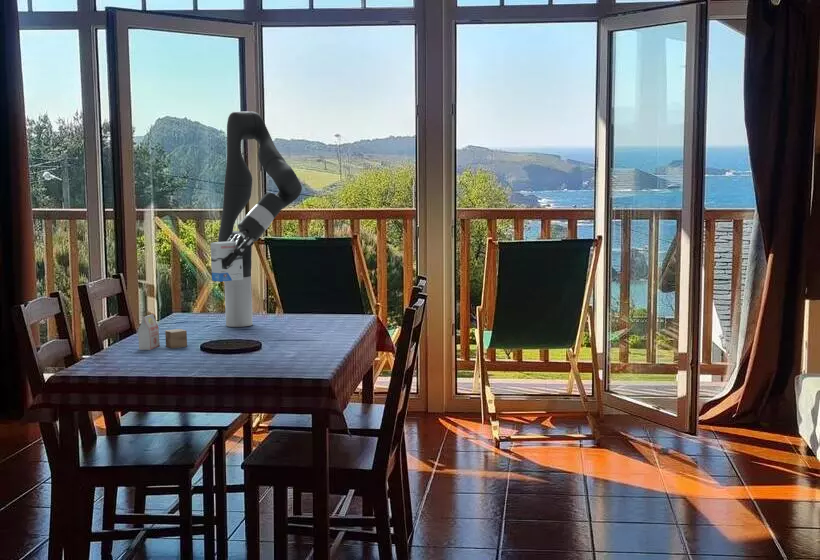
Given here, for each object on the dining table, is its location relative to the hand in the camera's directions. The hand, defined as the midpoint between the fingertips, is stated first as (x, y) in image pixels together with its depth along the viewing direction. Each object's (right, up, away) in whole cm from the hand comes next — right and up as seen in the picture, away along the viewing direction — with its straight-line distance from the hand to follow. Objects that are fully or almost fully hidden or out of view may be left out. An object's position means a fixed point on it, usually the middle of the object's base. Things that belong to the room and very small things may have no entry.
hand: (221, 263), depth 293 cm
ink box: (+2, -5, +2) cm, 6 cm away
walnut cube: (-15, -26, +5) cm, 30 cm away
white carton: (-23, -26, +4) cm, 35 cm away
